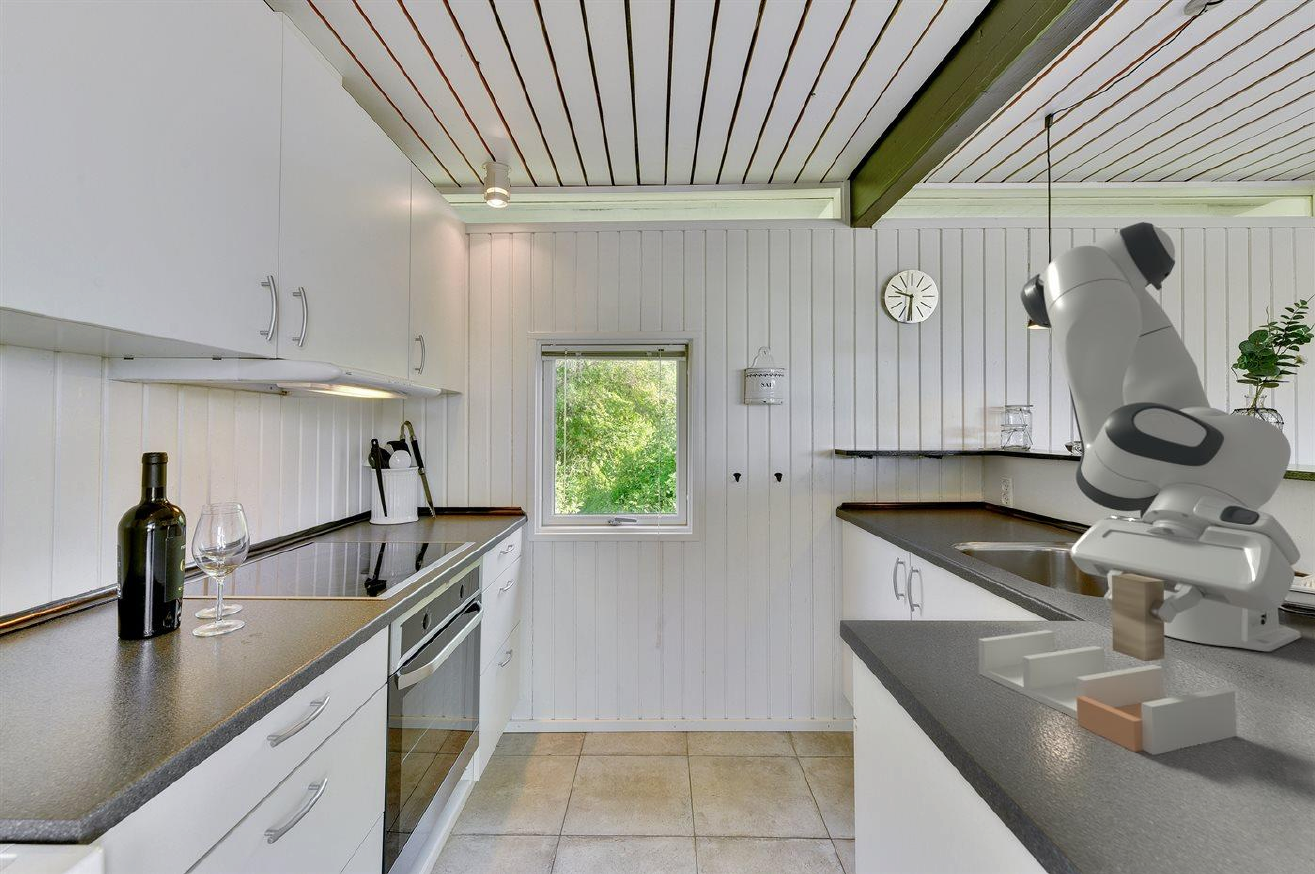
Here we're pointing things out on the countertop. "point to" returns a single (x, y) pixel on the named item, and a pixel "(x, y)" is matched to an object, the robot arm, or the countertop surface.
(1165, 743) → the rack
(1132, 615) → the block
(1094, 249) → the robot arm
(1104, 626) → the countertop surface
